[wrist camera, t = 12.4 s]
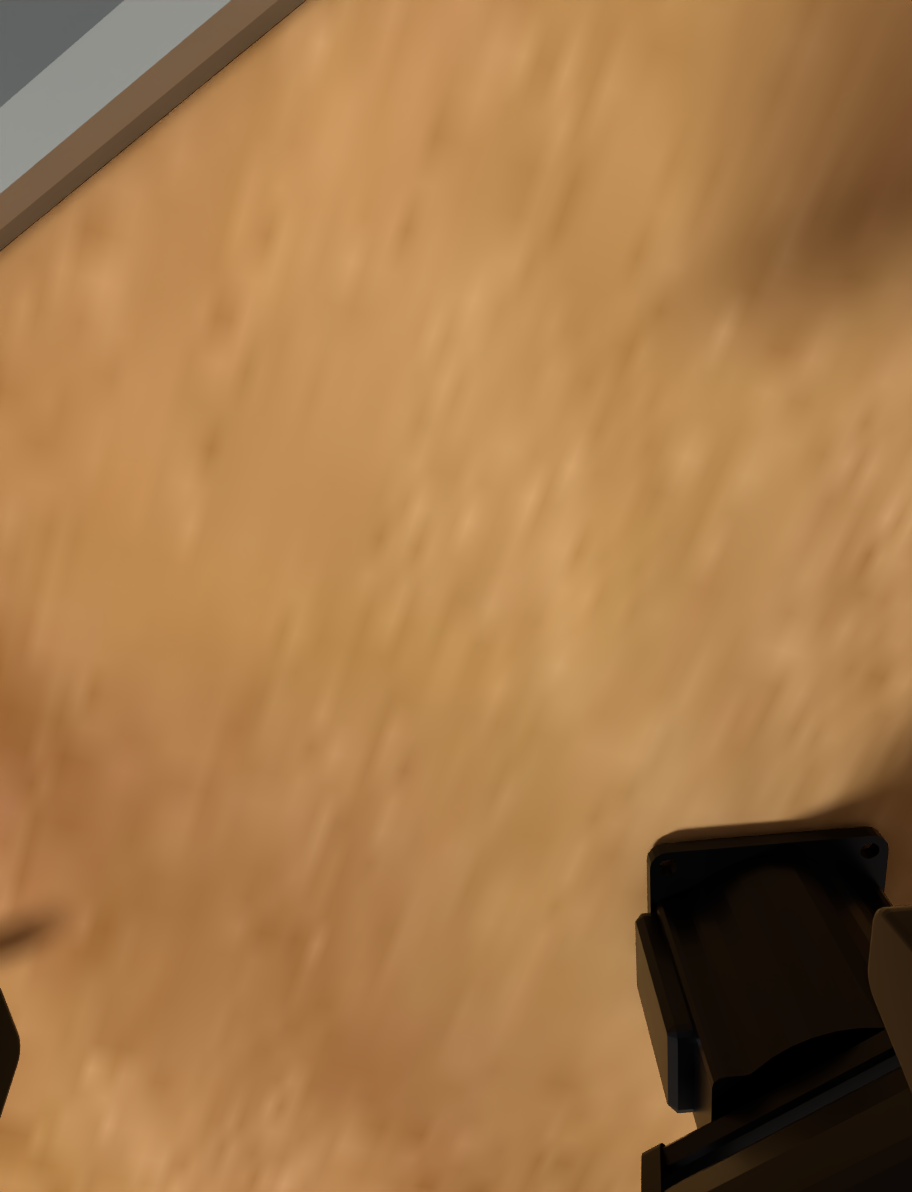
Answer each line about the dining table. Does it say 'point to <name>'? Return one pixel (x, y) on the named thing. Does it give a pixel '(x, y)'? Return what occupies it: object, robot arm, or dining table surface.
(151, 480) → the dining table surface
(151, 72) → the dock
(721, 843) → the robot arm
